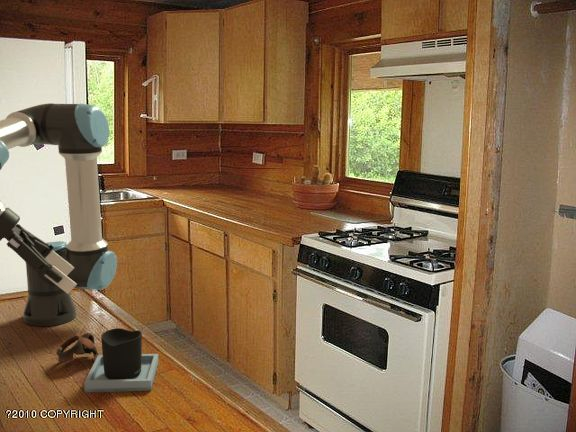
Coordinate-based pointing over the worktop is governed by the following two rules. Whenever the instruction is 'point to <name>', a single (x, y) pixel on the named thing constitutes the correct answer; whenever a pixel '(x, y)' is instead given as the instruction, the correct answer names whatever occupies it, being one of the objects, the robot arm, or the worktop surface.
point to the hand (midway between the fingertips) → (71, 280)
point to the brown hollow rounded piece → (77, 347)
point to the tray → (142, 382)
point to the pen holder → (121, 353)
